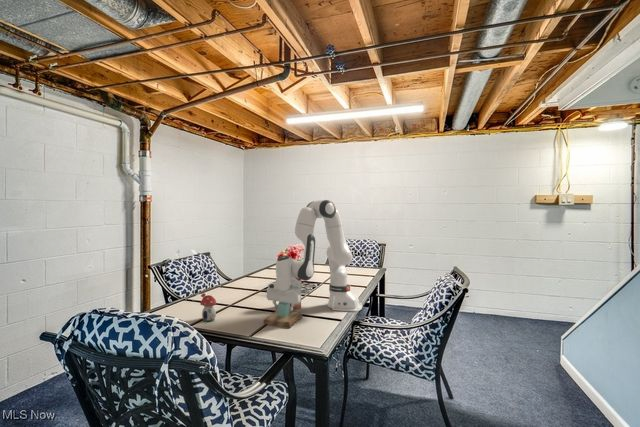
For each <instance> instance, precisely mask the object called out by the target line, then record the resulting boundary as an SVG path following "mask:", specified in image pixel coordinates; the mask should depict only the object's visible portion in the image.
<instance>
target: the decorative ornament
mask: <svg viewBox="0 0 640 427" xmlns="http://www.w3.org/2000/svg"><path fill="white" fill-rule="evenodd" d="M200 297H202V299H201V301H200V303H199V305H200V306H203V308H202V312H201V316H202V321H203V322H205V323H211V322H213V321H215V320H216V315H217V312H216V309H215V307H214V306H216V305H217V300H216V299H215V297H214V296H212V295H209V294H208V295H206V293H202V294H201V295H200Z"/></svg>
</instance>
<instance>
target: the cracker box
mask: <svg viewBox="0 0 640 427" xmlns="http://www.w3.org/2000/svg"><path fill="white" fill-rule="evenodd" d="M291 286H295V287H298V289H299V288H300V296H301V297H302V280H301V279H299V278H296V277H291ZM278 302H279V303H280V301H278ZM291 306H292V305H291V303H290V307H291ZM293 309H302V300H301V301H300V302H299V303H298V304H294V306H293Z"/></svg>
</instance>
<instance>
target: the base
mask: <svg viewBox="0 0 640 427" xmlns="http://www.w3.org/2000/svg"><path fill="white" fill-rule="evenodd" d="M302 318H303V313H302V312H298V311H293V310H292V311H290V314H289V315H288V316H287V317H281V316H278V309H276V311H274V312H273V313H271V314H269V315H268V316H266V317H265V319H263V324H264V325H269V326H274V327H279V328H286V329H292V328H293V326H294V325H295V324H296V323H298V322H299V321H300V320H301V319H302Z"/></svg>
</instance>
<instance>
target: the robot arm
mask: <svg viewBox="0 0 640 427" xmlns="http://www.w3.org/2000/svg"><path fill="white" fill-rule="evenodd" d="M297 216H298V217H297V220H296V222H295V228H294V235H295V236H296V238H297V239H298V240H299V241H301V242H302V243H303V245H304V252H303V253H304V254H303V261H301V260H298V259H294V258H292V257H291V256H290V255H282V256H279V257H278V258H277V259H276V262H275V274H276V278H275V280H274V281H273V282H272V281H271V282H270V283H268V284H267V290H266V299H267V300H268V301H272V304H273V307H274V309H278V303H277V302H279V301H280V302H287V303H291V305H292V306H291V307H289V310H290V311H293V310H294V308H293V306H294V304H298V303H299V302H300V301H301V302H302V295H301V296H300V288H299V289H298V287H295V286H291V277H296V278H299V279H301V281H304V282H305V281H306V282H307V281H309V280H310V279H312V278H313V276H314V274H315V263H314V262H315V255H316V254H315V253H316V238H315V234H314V229H315V224H316V220H317V219H323V220H324V226H325V227H324V228H325V232H326V233H325V234H326V237H327V241H328V242H329V246H328V247H327V248H326V251H325V252H326V256H327V260H328V266H329V277H330V278H329V279H330V280H329V288H328V290H329V296H328V302H327V307H328V308H330V309H331V310H332V311H338V312H339V311H340V312H355V313H357V312H359V311H361V310H362V309H363V304H362V303H361V302H360V300H359V297H358V296H357V295H356V294H355V293H354V292H353V291H352V290H351V285H349V284H348V271H347V268H346V266H348V265H349V264H351V263H352V260H353V253H352V252H351V250H350V247H349V245H348V242H347V239H346V236H345V232H344V227H343V226H344V225H343V221H342V217H341V214H340V212H339V210H338V208H337V209H336V206H335V204H334V202H333V201H331V200H328V199H319V200H316V201H315V200H314V201H311V202H309V203H307V205H306V207H303V208H301V209H300V212H299V213H298V215H297Z"/></svg>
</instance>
